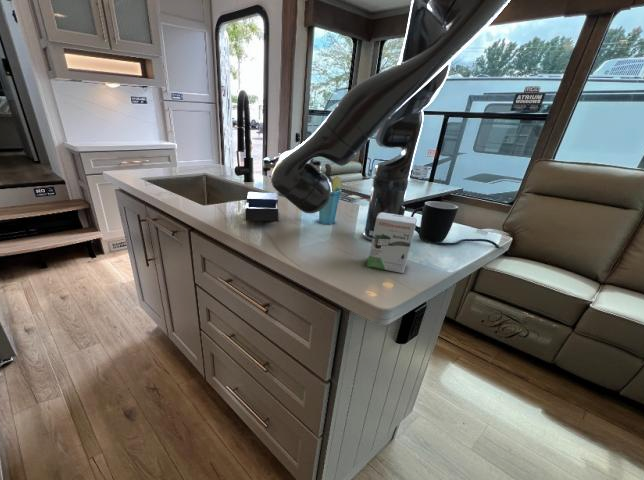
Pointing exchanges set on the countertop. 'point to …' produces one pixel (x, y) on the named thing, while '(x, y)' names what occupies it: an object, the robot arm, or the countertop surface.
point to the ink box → (391, 242)
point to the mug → (436, 220)
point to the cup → (331, 203)
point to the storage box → (262, 206)
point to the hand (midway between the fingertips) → (289, 161)
